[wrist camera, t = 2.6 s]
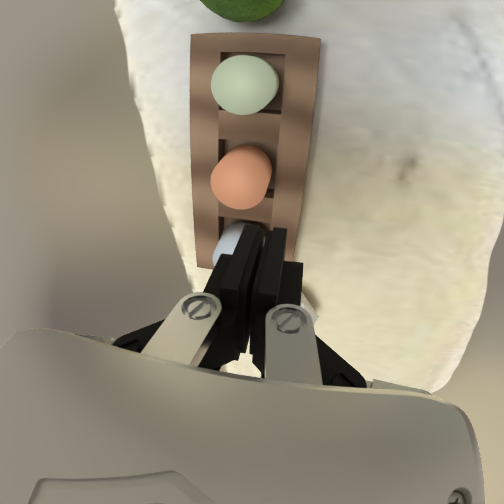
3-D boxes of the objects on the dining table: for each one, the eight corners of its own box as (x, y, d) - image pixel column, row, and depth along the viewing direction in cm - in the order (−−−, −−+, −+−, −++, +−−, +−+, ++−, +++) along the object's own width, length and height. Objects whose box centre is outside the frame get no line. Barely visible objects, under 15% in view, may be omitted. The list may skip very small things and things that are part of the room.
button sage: (224, 55, 23) (211, 54, 20) (280, 58, 23) (276, 56, 19) (222, 106, 26) (210, 113, 23) (277, 110, 26) (272, 117, 22)
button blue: (221, 219, 34) (211, 238, 31) (267, 225, 33) (262, 245, 30) (222, 256, 37) (213, 277, 34) (263, 262, 36) (258, 284, 33)
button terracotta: (222, 142, 28) (210, 154, 25) (274, 147, 28) (269, 160, 25) (221, 189, 32) (210, 206, 28) (270, 194, 31) (264, 212, 28)
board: (201, 36, 24) (190, 34, 22) (319, 41, 23) (320, 38, 21) (203, 253, 41) (197, 266, 39) (291, 266, 40) (289, 281, 37)
